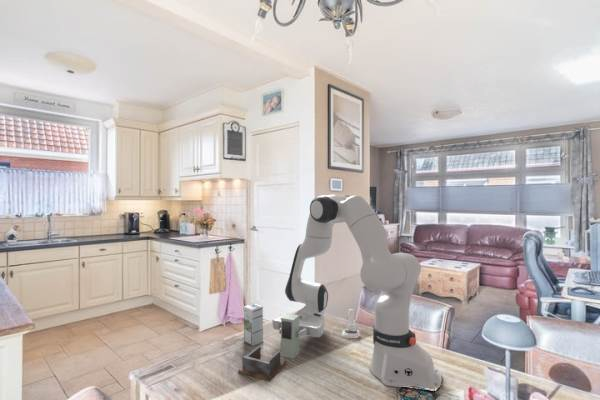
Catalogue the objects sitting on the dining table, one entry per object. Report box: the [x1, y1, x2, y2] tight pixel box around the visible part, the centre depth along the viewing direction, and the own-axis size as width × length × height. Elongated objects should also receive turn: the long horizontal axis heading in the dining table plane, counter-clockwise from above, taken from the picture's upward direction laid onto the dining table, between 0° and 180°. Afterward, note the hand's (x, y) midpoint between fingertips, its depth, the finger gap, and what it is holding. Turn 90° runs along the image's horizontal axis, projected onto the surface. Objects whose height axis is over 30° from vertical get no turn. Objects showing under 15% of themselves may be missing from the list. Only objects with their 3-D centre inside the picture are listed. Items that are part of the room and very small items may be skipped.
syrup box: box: [243, 303, 264, 347], centre depth 128 cm, size 6×6×14 cm
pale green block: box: [280, 313, 300, 360], centre depth 117 cm, size 5×6×14 cm
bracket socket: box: [237, 345, 288, 382], centre depth 108 cm, size 12×12×5 cm
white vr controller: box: [341, 308, 361, 340], centre depth 136 cm, size 8×12×7 cm
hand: (289, 333), depth 117 cm, fingers open, 5 cm apart
